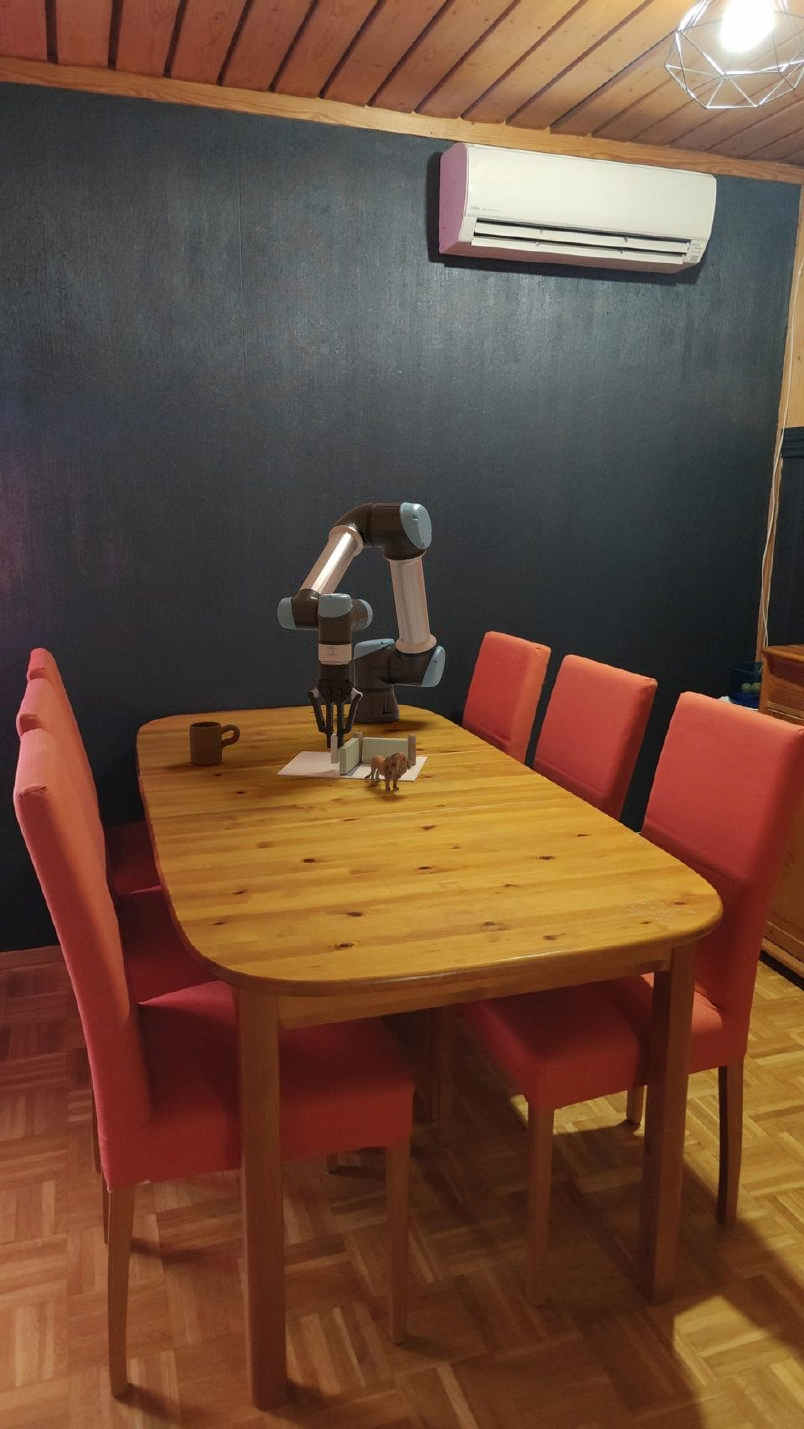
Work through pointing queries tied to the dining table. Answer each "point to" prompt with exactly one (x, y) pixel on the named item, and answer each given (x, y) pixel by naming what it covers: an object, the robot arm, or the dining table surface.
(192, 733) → the mug
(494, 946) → the dining table surface
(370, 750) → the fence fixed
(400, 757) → the lion figurine
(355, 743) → the fence panel
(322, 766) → the card
